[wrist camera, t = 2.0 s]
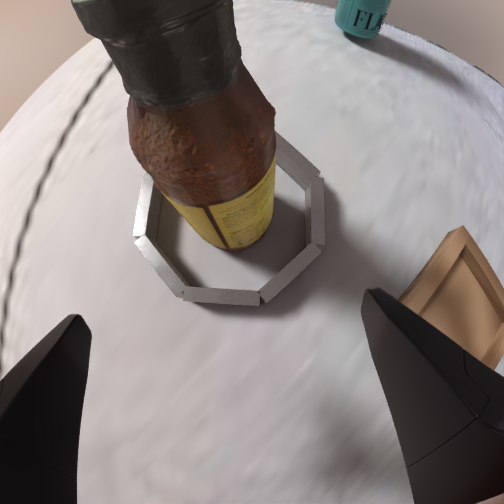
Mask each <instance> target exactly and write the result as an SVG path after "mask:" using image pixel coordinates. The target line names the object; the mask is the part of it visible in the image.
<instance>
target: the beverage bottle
mask: <svg viewBox="0 0 504 504" xmlns="http://www.w3.org/2000/svg"><path fill="white" fill-rule="evenodd" d="M389 3H390V0H339V2H338V6H337V10H336V14H335V23H336V25H337V26H338V27H339V28H341V29H342V30H344V31H345V32H347V33H349V34H352V35H354V36H357V37H361V38H374V37H375V36H376V35H377V34H378V32H379V30H380V29H381V28H380V27H381V24H382V22H383V20H384V17H385V14H386V15H387V13H386V11H387V8H388V6H389ZM383 23H384V22H383ZM382 25H383V24H382Z"/></svg>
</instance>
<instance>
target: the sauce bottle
mask: <svg viewBox="0 0 504 504" xmlns="http://www.w3.org/2000/svg"><path fill="white" fill-rule="evenodd" d="M71 3H72V6H73V8H74V9H75V11H76V14H77V16H78V18H79V20H80V21H81V23H82V25H83V26H84V29H85V31H86V32H87V33H88V34H91V35H92V36H94V37H96V38H98V39H100V40H101V41H102V43H103V45H104V47H105V49H106V50H107V52H108V54H109V56H110V57H111V59H112V61H113V63H114V64H115V66H116V68H117V70H118V71H119V73H120V74H121V77H122V81H123V86H124V88H125V90H126V92H127V93H128V94H129V95H130V98H129V102H128V107H127V118H128V130H129V142H130V146H131V149H132V151H133V153H134V155H135V157H136V159H137V160H138V162H139V163H140V164H141V165H142V167H143V169H144V170H145V171H146V172H147V173H148V174H149V175H150V176H151V177H152V179H153V181H154V183H155V185H156V186H157V188H158V189H159V190H160V191H161V192H162V194H163V195H164V196H165V197H166V198H167V199H168V200H169V201H170V203H171V204H172V205H173V206H174V207H175V208H176V209H177V211H178V212H179V213H180V214H181V215H182V216H183V217H184V218H185V220H186V221H187V222H188V223H189V224H190V225H191V227H192V228H193V229H194V230H195V231H196V232H197V233H198V234H199V235H200V236H201V237H202V238H203V239H204V240H205V241H207V242H208V243H210V244H212V245H214V246H216V247H219V248H222V249H227V250H231V251H235V250H241V249H244V248H246V247H249V246H250V245H252V244H253V243H255V242H257V241H258V240H260V239H261V238H262V237H263V236H264V234H265V232H266V230H267V227H268V225H269V223H270V221H271V219H272V214H273V206H274V187H275V166H276V143H277V142H276V135H275V129H274V126H275V124H274V121H275V120H274V117H275V114H276V112H275V108H274V107H273V106H272V105H271V104H270V103H269V102H268V101H267V99H266V98H265V96H264V95H263V93H262V92H261V90H260V88H259V87H258V85H257V84H256V82H255V81H254V79H253V78H252V76H251V75H250V73H249V72H248V70H247V69H246V67H245V66H244V64H243V62H242V60H241V46H240V45H239V41H238V40H237V35H236V27H235V24H234V10H233V1H232V0H71Z"/></svg>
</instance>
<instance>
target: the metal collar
mask: <svg viewBox="0 0 504 504" xmlns="http://www.w3.org/2000/svg"><path fill="white" fill-rule="evenodd" d="M275 135H276V142H277V143H276V163H277V164H278V165H279V166H280V167H281V168H282V169H283V170H284V171H285V172H286V173H287V174H288V175H289V176H290V177H291V178H292V179H293V180H294V181H295V182H296V183H298V184H299V185H300V186H301V187H302V188H303V189H304V190H305V249H304V250H303V251H302V252H300V253H299V254H298V255H297V256H296V257H295V258H294V259H293V260H292V261H291V262H290V263H289V264H287V265H286V266H285V267H284V268H283V269H282V270H281V271H280V272H279V273H278V274H277V275H275V276H274V277H273V278H272V279H271V280H270V281H269V282H268V283H267V284H266V285H264V286H263V287H262V288H261V289H260V290H259V291H251V290H233V289H217V288H202V287H191V285H190V284H189V283H188V282H187V281H186V279H185V278H184V277H183V276H182V274H181V273H180V272H179V271H178V270H177V268H176V267H175V266H174V265H173V263H172V262H171V261H170V260H169V258H168V257H167V256H166V255H165V253H164V252H163V251H162V250H161V248H160V247H159V246H158V244H157V243H156V237H157V230H158V223H159V216H160V209H161V203H162V196H163V194H162V192H161V191H160V190H159V189H158V188H157V186H156V185H155V183H154V181H153V179H152V177H151V176H150V175H149V174H148V173H144V176H143V181H142V186H141V191H140V196H139V201H138V207H137V212H136V218H135V225H134V231H133V236H134V237H136V238H137V239H138V240H137V241H135V242H134V243H135V244H136V245H137V247H138V248H139V250H140V251H141V252H142V254H143V255H144V256H145V258H146V259H147V260H148V262H149V263H150V264H151V266H152V267H153V268H154V269H155V271H156V272H157V273H158V275H159V276H160V277H161V279H162V280H163V281H164V282H165V284H166V285H167V286H168V287H169V289H170V290H171V291H172V292H173V294H174V295H175V296H176V297H180V298H183V301H190V302H202V303H215V304H230V305H247V306H259V303H260V298H261V299H262V300H263V301H264V302H265V303H268V302H269V301H270V300H271V299H272V298H273V297H274V296H276V295H277V294H278V293H279V292H280V291H281V290H282V289H283V288H284V287H285V286H286V285H288V284H289V283H290V282H291V281H292V280H293V279H294V278H295V277H296V276H297V275H298V274H299V273H300V272H301V271H303V270H304V269H305V268H306V267H307V266H308V265H309V264H310V263H311V262H312V261H313V260H314V259H315V258H316V257H317V256H318V255H319V254H320V253H321V252H322V251H321V250H320V249H321V248H322V247H323V246H324V245H325V206H324V179H323V178H319V177H318V176H319V174H320V171H319V170H318V169H317V168H316V167H315V166H314V165H313V164H312V163H311V162H310V161H308V160H307V159H306V158H305V157H304V156H303V155H302V154H301V153H300V152H299V151H298V150H296V149H295V148H294V147H293V146H292V145H291V144H290V143H289V142H287V141H286V140H285V139H284V138H283V137H282V136H280V135H279V134H278V133H277V132H276V131H275Z"/></svg>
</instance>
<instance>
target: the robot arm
mask: <svg viewBox="0 0 504 504" xmlns="http://www.w3.org/2000/svg"><path fill="white" fill-rule="evenodd" d="M361 316H362V320H363V323H364V327H365V331H366V335H367V339H368V343H369V347H370V351H371V355H372V359H373V362H374V365H375V367H376V370H377V373H378V376H379V379H380V382H381V385H382V388H383V390H384V393H385V396H386V400H387V403H388V406H389V409H390V412H391V415H392V418H393V422H394V425H395V428H396V432H397V435H398V439H399V442H400V446H401V449H402V453H403V457H404V461H405V464H406V468H407V473H408V477H409V481H410V485H411V490H412V494H413V499H414V503H415V504H504V377H503V376H502V375H500V374H498V373H497V372H495V371H494V370H493V369H491V368H490V367H488V366H487V365H485V364H484V363H482V362H481V361H480V360H478V359H477V358H476V357H474V356H473V355H472V354H470V353H469V352H468V351H467V350H465V349H463V348H462V347H461V346H460V345H459V344H457V343H456V342H455V341H453V340H452V339H451V338H449V337H448V336H447V335H445V334H444V333H443V332H441V331H440V330H439V329H437V328H436V327H434V326H433V325H432V324H430V323H429V322H428V321H426V320H425V319H424V318H422V317H421V316H419V315H418V314H417V313H415V312H414V311H412V310H411V309H410V308H408V307H407V306H405V305H404V304H403V303H401V302H400V301H398V300H397V299H396V298H394V297H393V296H391V295H390V294H388V293H387V292H386V291H384V290H383V289H381V288H379V287H374V288H368V289H366V291H365V293H364V298H363V302H362V306H361ZM91 340H92V334H91V331H90V329H89V327H88V326H87V324H86V322H85V321H84V319H83V318H82V316H81V315H79V314H70V315H68V316H67V317H66V318H65V319H64V320H62V321H61V322H60V323H59V324H58V325H57V326H56V327H55V328H54V329H53V330H52V331H50V332H49V333H48V334H47V335H46V336H45V337H44V338H43V339H42V340H41V341H40V342H39V343H38V344H37V345H36V346H35V347H33V348H32V349H31V350H30V351H29V352H28V353H27V354H26V355H25V356H24V357H23V358H22V359H21V360H20V361H19V362H18V363H17V364H16V365H15V366H14V367H13V368H12V369H11V370H10V371H9V372H8V373H7V374H6V375H5V377H4V378H3V379H2V380H1V381H0V504H77V463H78V447H79V436H80V426H81V417H82V410H83V403H84V396H85V390H86V384H87V377H88V368H89V357H90V348H91Z"/></svg>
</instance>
